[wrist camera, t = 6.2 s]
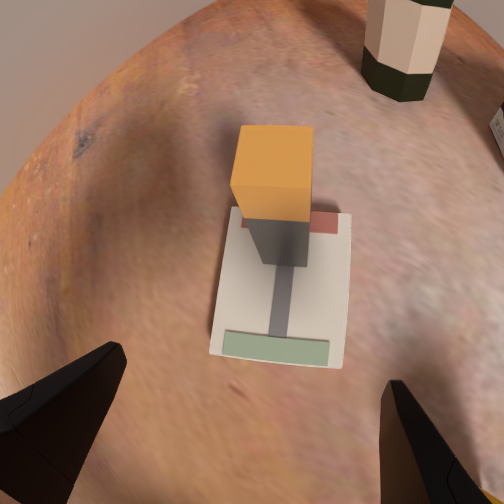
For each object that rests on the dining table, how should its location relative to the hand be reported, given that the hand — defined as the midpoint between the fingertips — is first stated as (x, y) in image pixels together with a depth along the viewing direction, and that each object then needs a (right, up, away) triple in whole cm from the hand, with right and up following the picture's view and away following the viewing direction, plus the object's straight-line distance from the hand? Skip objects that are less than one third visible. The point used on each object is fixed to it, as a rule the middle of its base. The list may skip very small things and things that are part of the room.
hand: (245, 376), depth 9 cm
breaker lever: (+3, +4, +12) cm, 13 cm away
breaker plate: (+3, +1, +14) cm, 14 cm away
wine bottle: (+17, +24, +19) cm, 35 cm away
